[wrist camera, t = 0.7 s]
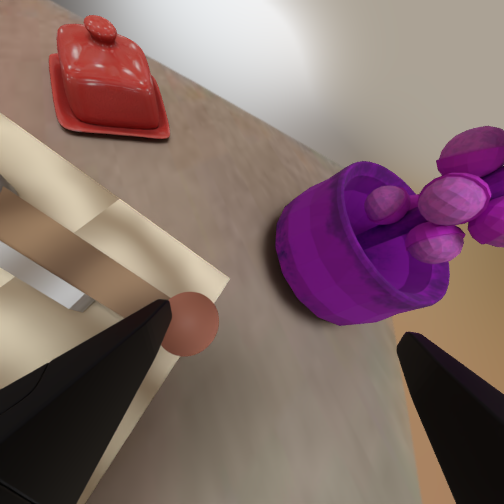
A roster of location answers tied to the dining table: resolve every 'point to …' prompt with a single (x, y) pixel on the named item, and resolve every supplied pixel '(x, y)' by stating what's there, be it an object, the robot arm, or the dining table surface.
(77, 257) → the lever
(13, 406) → the robot arm
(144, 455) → the dining table surface
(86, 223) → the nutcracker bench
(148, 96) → the butter dish
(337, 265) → the decorative plant
